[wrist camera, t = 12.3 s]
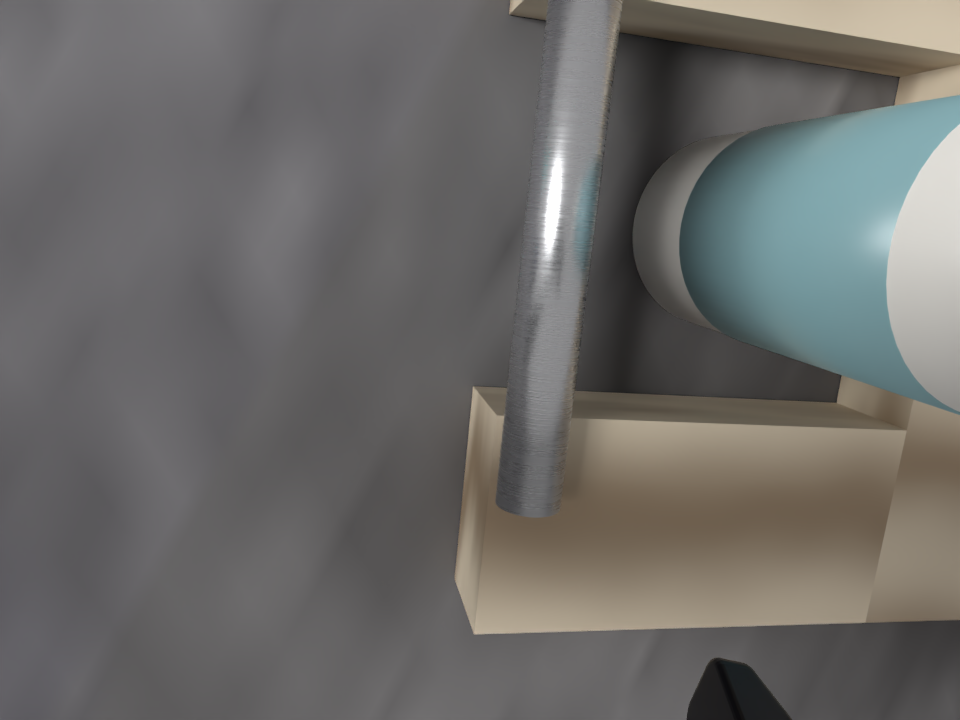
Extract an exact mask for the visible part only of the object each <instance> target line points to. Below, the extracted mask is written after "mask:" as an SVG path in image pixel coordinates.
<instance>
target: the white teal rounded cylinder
mask: <svg viewBox="0 0 960 720" xmlns="http://www.w3.org/2000/svg"><path fill="white" fill-rule="evenodd" d="M632 245H633V253H634V259H635V263H636V267H637V270H638V273H639V275H640V278H641V280H642V282H643V284H644V286H645V287H646V289H647V291H648V292H649V293H650V295H651V296H652V297H653V299H654V300H655V301H656V302H657V303H658V304H659V305H660V306H661V307H662V308H664V309H665V310H666V311H668V312H669V313H670V314H672V315H674V316H676V317H678V318H680V319H682V320H685V321H688V322H691V323H694V324H697V325H700V326H703V327H706V328H709V329H712V330H715V331H718V332H721V333H724V334H726V335H728V336H730V337H731V338H733V339H736V340H739V341H742V342H745V343H748V344H750V345H753V346H756V347H759V348H762V349H765V350H768V351H771V352H774V353H777V354H780V355H783V356H786V357H789V358H792V359H795V360H798V361H801V362H804V363H807V364H810V365H813V366H816V367H819V368H822V369H825V370H828V371H830V372H833V373H836V374H839V375H842V376H845V377H848V378H851V379H854V380H857V381H860V382H863V383H866V384H869V385H872V386H875V387H878V388H881V389H884V390H887V391H890V392H893V393H896V394H899V395H902V396H905V397H908V398H910V399H913V400H916V401H919V402H922V403H925V404H928V405H931V406H934V407H937V408H940V409H943V410H946V411H949V412H952V413H955V414H958V415H960V95H956V96H950V97H944V98H938V99H932V100H925V101H919V102H913V103H907V104H901V105H895V106H889V107H883V108H877V109H870V110H864V111H858V112H852V113H846V114H840V115H834V116H828V117H821V118H815V119H809V120H803V121H797V122H791V123H785V124H779V125H773V126H768V127H764V128H761V129H758V130H754V131H748V132H741V133H735V134H729V135H723V136H716V137H711V138H706V139H702V140H699V141H696V142H694V143H691V144H689V145H687V146H686V147H684V148H682V149H680V150H679V151H677V152H676V153H675V154H673V155H672V156H671V157H669V158H668V159H667V160H666V161H665V162H664V163H663V164H662V165H661V166H660V167H659V168H658V170H657V171H656V172H655V173H654V175H653V176H652V178H651V179H650V181H649V182H648V183H647V185H646V187H645V189H644V191H643V193H642V195H641V198H640V200H639V203H638V206H637V209H636V213H635V218H634V223H633V232H632Z"/></svg>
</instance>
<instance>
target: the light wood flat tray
mask: <svg viewBox="0 0 960 720" xmlns="http://www.w3.org/2000/svg"><path fill="white" fill-rule="evenodd" d="M547 6H548V0H510V11H509V15H515V16H521V17H528V18H534V19H540V20H546V16H547ZM619 32H621V33H627V34H634V35H640V36H646V37H652V38H659V39H665V40H671V41H677V42H684V43H690V44H696V45H702V46H709V47H715V48H721V49H727V50H734V51H740V52H746V53H752V54H759V55H765V56H771V57H777V58H784V59H790V60H796V61H802V62H809V63H815V64H821V65H827V66H833V67H840V68H846V69H852V70H858V71H865V72H871V73H877V74H883V75H890V76H896V77H900V79H899V84H898V89H897V94H896V100H895V105H901V104H907V103H913V102H919V101H925V100H932V99H938V98H944V97H950V96H956V95H960V0H623V6H622V14H621V23H620V31H619ZM895 105H894V106H895ZM506 394H507V388H502V387H480V386H473V393H472V404H471V414H470V424H469V435H468V445H467V455H466V466H465V476H464V486H463V497H462V507H461V517H460V528H459V538H458V548H457V559H456V569H455V581H456V584H457V587H458V590H459V593H460V596H461V598H462V601H463V604H464V607H465V610H466V613H467V616H468V618H469V621H470V624H471V627H472V630H473V633H474V634H504V633H537V632H571V631H604V630H638V629H671V628H705V627H738V626H772V625H806V624H839V623H873V622H906V621H940V620H960V415H958V414H955V413H952V412H949V411H946V410H943V409H940V408H937V407H934V406H931V405H928V404H925V403H922V402H919V401H916V400H913V399H910V398H908V397H905V396H902V395H899V394H896V393H893V392H890V391H887V390H884V389H881V388H878V387H875V386H872V385H869V384H866V383H863V382H860V381H857V380H854V379H851V378H848V377H845V376H842V377H841V382H840V387H839V392H838V397H837V402H836V403H831V402H809V401H787V400H765V399H743V398H721V397H699V396H678V395H656V394H634V393H612V392H590V391H575V393H574V401H573V409H572V417H571V425H570V434H569V442H568V450H567V458H566V466H565V474H564V482H563V490H562V498H561V506H560V511H559V512H558V513H557V514H555V515H552V516H549V517H541V518H534V517H524V516H519V515H515V514H511V513H509V512H506V511H504V510H502V509H501V508H499V507H498V506H497V505H496V503H495V498H496V488H497V479H498V469H499V460H500V450H501V441H502V431H503V422H504V413H505V403H506Z"/></svg>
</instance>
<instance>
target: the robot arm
mask: <svg viewBox="0 0 960 720" xmlns="http://www.w3.org/2000/svg"><path fill="white" fill-rule="evenodd" d="M687 720H792V719H791V717H790V716H789V715H788V714H787V712H786V711H785V710H784V708H783V707H782V706H781V705H780V703H779V702H778V701H777V699H776V698H775V697H774V696H773V694H772V693H771V692H770V691H769V689H768V688H767V687H766V685H765V684H764V683H763V682H762V680H761V679H760V678H759V677H758V675H757V674H756V673H755V671H754V670H753V669H752V668H751V667H750V666H748V665H747V664H745V663H741V662H736V661H732V660H727V659H722V658H714V659H712V660H711V661H710V662H709V663H708V665H707V666H706V668H705V671H704V673H703V675H702V677H701V679H700V681H699V684H698V686H697V688H696V690H695V692H694V695H693V697H692V699H691V701H690V704H689V708H688V713H687Z"/></svg>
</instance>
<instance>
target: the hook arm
mask: <svg viewBox="0 0 960 720" xmlns="http://www.w3.org/2000/svg"><path fill="white" fill-rule="evenodd" d="M622 6H623V0H548V6H547V16H546V25H545V35H544V44H543V53H542V63H541V72H540V82H539V91H538V101H537V110H536V120H535V129H534V139H533V148H532V157H531V167H530V176H529V186H528V195H527V205H526V214H525V224H524V233H523V242H522V252H521V261H520V271H519V280H518V290H517V299H516V309H515V318H514V327H513V337H512V346H511V356H510V365H509V375H508V384H507V394H506V403H505V413H504V422H503V431H502V441H501V450H500V460H499V469H498V479H497V488H496V498H495V503H496V505H497V506H498V507H499V508H501V509H502V510H504V511H506V512H509V513H511V514H515V515H519V516H524V517H534V518H541V517H549V516H552V515H555V514H557V513H558V512H559V511H560V506H561V498H562V490H563V482H564V474H565V466H566V458H567V450H568V442H569V434H570V425H571V417H572V409H573V401H574V393H575V385H576V377H577V369H578V361H579V353H580V345H581V337H582V329H583V321H584V313H585V305H586V297H587V288H588V280H589V272H590V264H591V256H592V248H593V240H594V232H595V224H596V216H597V208H598V200H599V192H600V184H601V176H602V168H603V160H604V151H605V143H606V135H607V127H608V119H609V111H610V103H611V95H612V87H613V79H614V71H615V63H616V55H617V47H618V39H619V31H620V23H621V14H622Z"/></svg>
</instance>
